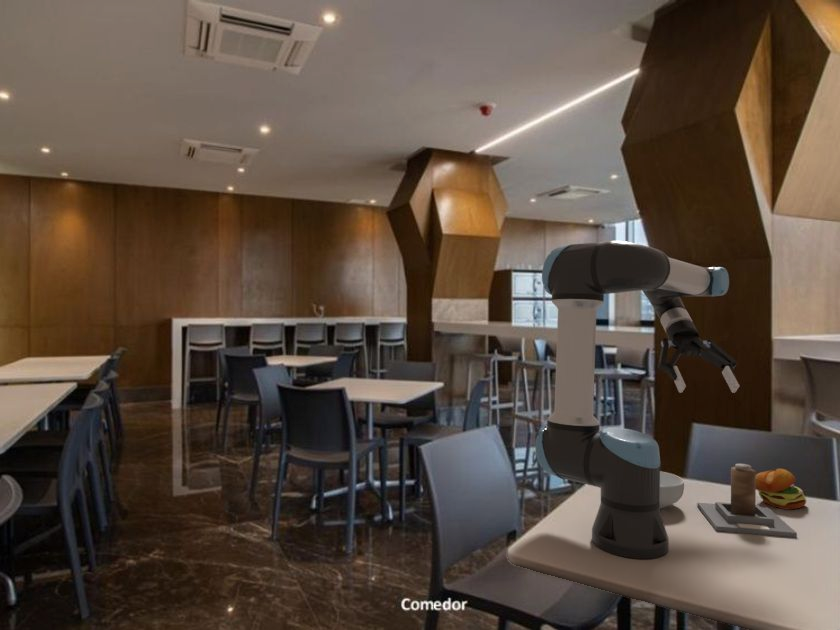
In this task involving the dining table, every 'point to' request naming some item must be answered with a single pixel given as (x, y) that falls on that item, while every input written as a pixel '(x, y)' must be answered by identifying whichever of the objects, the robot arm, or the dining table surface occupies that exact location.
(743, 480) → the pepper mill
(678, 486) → the cereal bowl
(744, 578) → the dining table surface
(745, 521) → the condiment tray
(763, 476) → the cheeseburger
